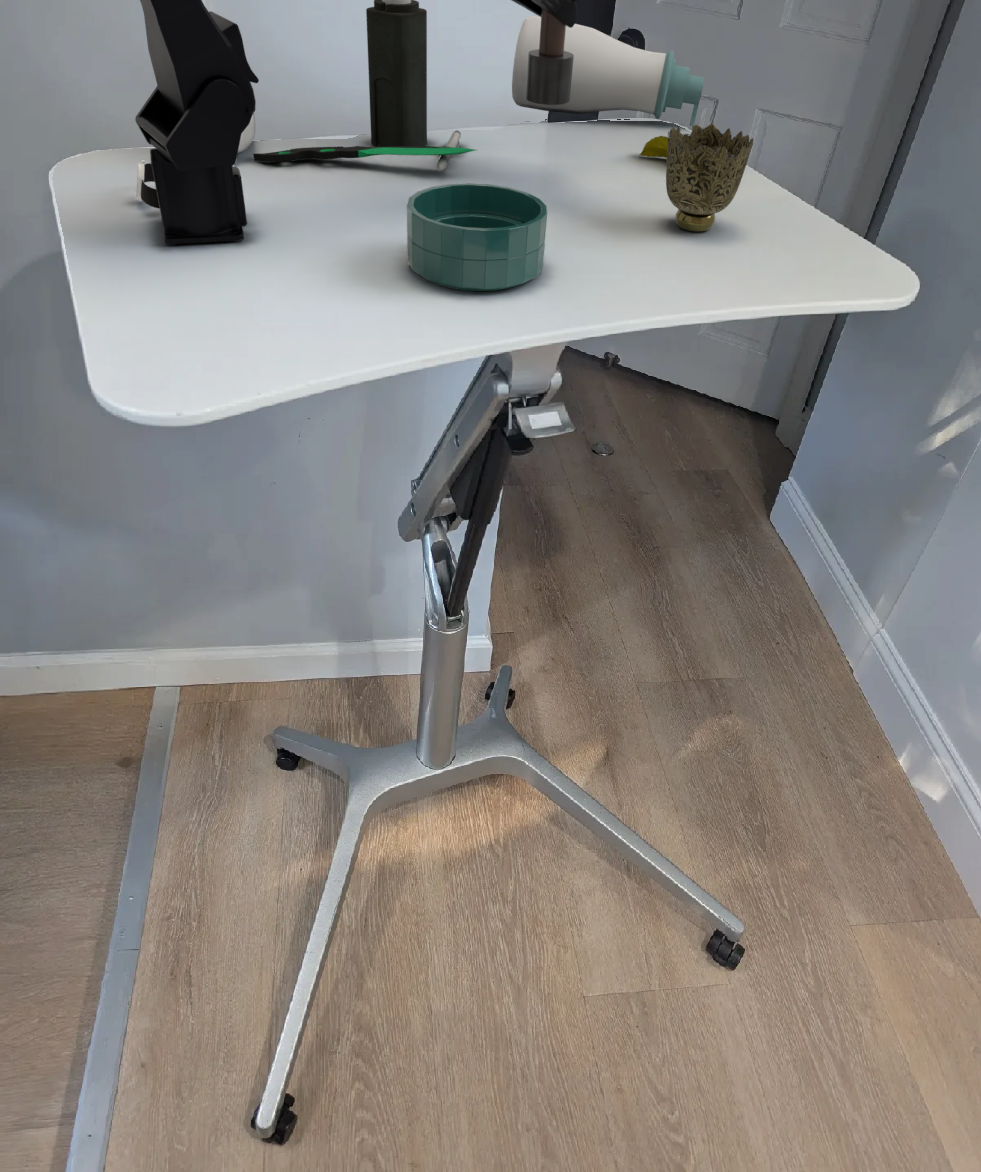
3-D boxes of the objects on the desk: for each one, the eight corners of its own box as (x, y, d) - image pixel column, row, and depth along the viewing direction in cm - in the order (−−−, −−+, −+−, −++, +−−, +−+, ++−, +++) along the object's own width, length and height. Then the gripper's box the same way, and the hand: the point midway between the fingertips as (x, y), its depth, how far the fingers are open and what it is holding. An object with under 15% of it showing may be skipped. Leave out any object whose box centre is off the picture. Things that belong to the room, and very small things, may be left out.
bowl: (426, 300, 69) (426, 234, 65) (395, 247, 76) (394, 186, 73) (560, 289, 71) (567, 225, 68) (517, 240, 79) (521, 180, 76)
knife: (248, 154, 92) (267, 146, 96) (250, 163, 92) (269, 154, 96) (470, 153, 87) (481, 144, 91) (471, 161, 88) (481, 152, 92)
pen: (462, 141, 101) (462, 128, 100) (444, 179, 91) (444, 164, 90) (453, 141, 101) (453, 127, 100) (434, 178, 91) (434, 163, 90)
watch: (137, 189, 84) (128, 148, 82) (189, 187, 86) (182, 146, 83) (136, 217, 79) (127, 174, 77) (192, 215, 80) (185, 172, 78)
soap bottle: (506, 104, 109) (692, 136, 108) (519, 10, 104) (714, 42, 103) (516, 105, 118) (689, 134, 116) (529, 17, 113) (709, 47, 111)
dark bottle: (431, 143, 101) (431, -143, 85) (404, 153, 97) (399, -143, 81) (394, 134, 103) (388, -147, 86) (366, 144, 99) (354, -147, 83)
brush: (533, 105, 87) (543, -45, 79) (519, 94, 90) (528, -51, 82) (575, 104, 88) (590, -44, 80) (561, 94, 91) (573, -50, 83)
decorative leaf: (719, 174, 96) (711, 149, 93) (706, 188, 96) (698, 164, 93) (653, 152, 102) (644, 128, 99) (642, 166, 102) (632, 142, 99)
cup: (707, 210, 88) (724, 121, 82) (749, 237, 82) (771, 143, 77) (639, 216, 85) (653, 125, 80) (679, 244, 80) (696, 148, 75)
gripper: (617, -216, 66) (689, -41, 79) (465, -220, 77) (550, -66, 90) (528, -83, 68) (613, 69, 80) (391, -105, 79) (485, 31, 91)
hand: (564, 20), depth 85 cm, fingers closed on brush, 2 cm apart
